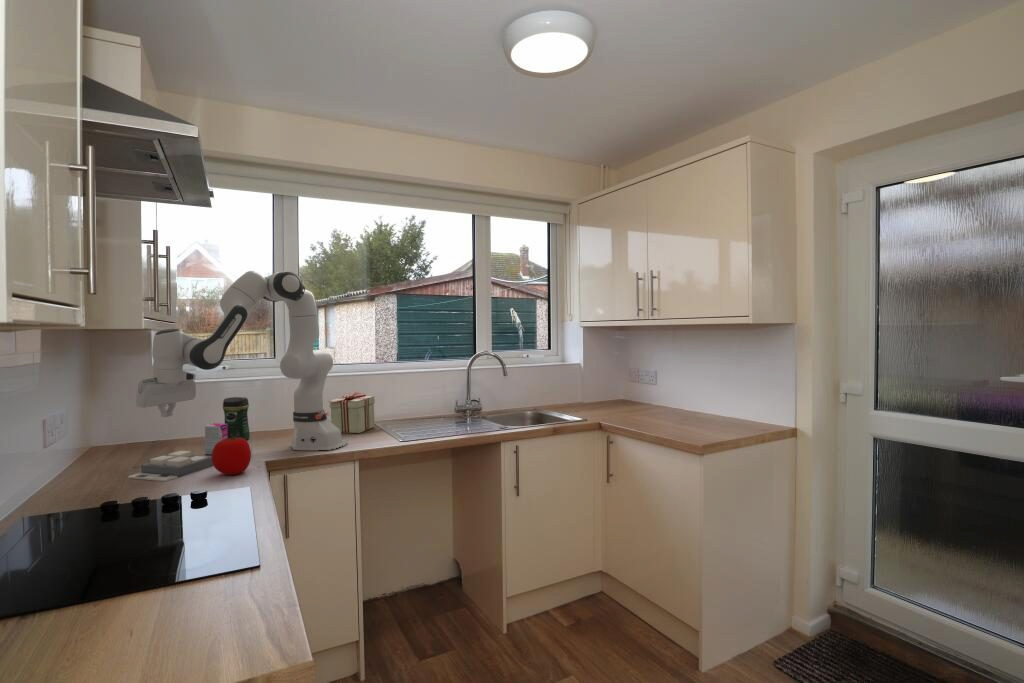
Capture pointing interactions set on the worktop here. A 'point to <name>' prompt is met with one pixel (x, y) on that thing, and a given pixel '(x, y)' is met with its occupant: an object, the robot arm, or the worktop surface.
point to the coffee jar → (236, 417)
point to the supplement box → (214, 436)
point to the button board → (171, 470)
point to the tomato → (231, 455)
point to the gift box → (353, 413)
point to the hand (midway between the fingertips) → (166, 416)
